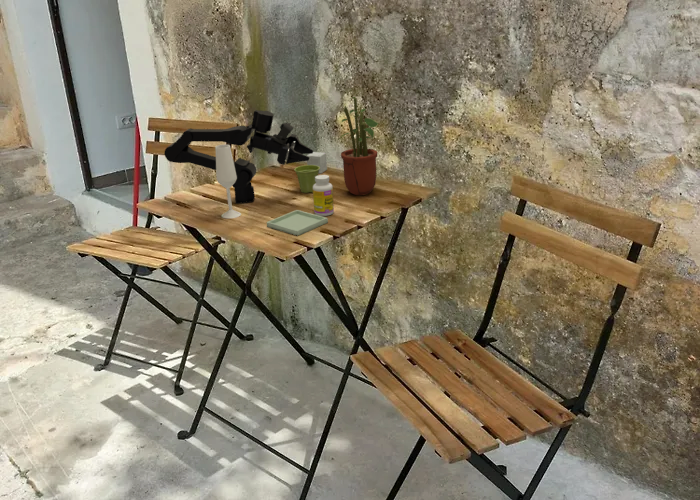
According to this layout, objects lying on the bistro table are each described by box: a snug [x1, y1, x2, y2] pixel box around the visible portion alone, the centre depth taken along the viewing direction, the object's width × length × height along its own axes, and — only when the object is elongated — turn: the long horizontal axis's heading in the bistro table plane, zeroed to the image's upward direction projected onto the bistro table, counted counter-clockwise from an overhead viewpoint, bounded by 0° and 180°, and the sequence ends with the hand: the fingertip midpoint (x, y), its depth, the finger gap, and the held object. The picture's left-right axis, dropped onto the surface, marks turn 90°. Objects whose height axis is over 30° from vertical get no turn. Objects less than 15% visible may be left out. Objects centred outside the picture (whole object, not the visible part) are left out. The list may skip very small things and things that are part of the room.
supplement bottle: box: [312, 174, 335, 217], centre depth 219 cm, size 7×7×13 cm
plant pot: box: [293, 164, 320, 194], centre depth 243 cm, size 9×9×9 cm
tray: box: [266, 209, 329, 237], centre depth 212 cm, size 14×14×2 cm
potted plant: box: [334, 96, 379, 196], centre depth 235 cm, size 17×16×35 cm
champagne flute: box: [214, 143, 242, 219], centre depth 219 cm, size 7×7×24 cm
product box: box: [306, 151, 328, 175], centre depth 266 cm, size 6×6×7 cm
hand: (311, 155), depth 228 cm, fingers open, 9 cm apart
